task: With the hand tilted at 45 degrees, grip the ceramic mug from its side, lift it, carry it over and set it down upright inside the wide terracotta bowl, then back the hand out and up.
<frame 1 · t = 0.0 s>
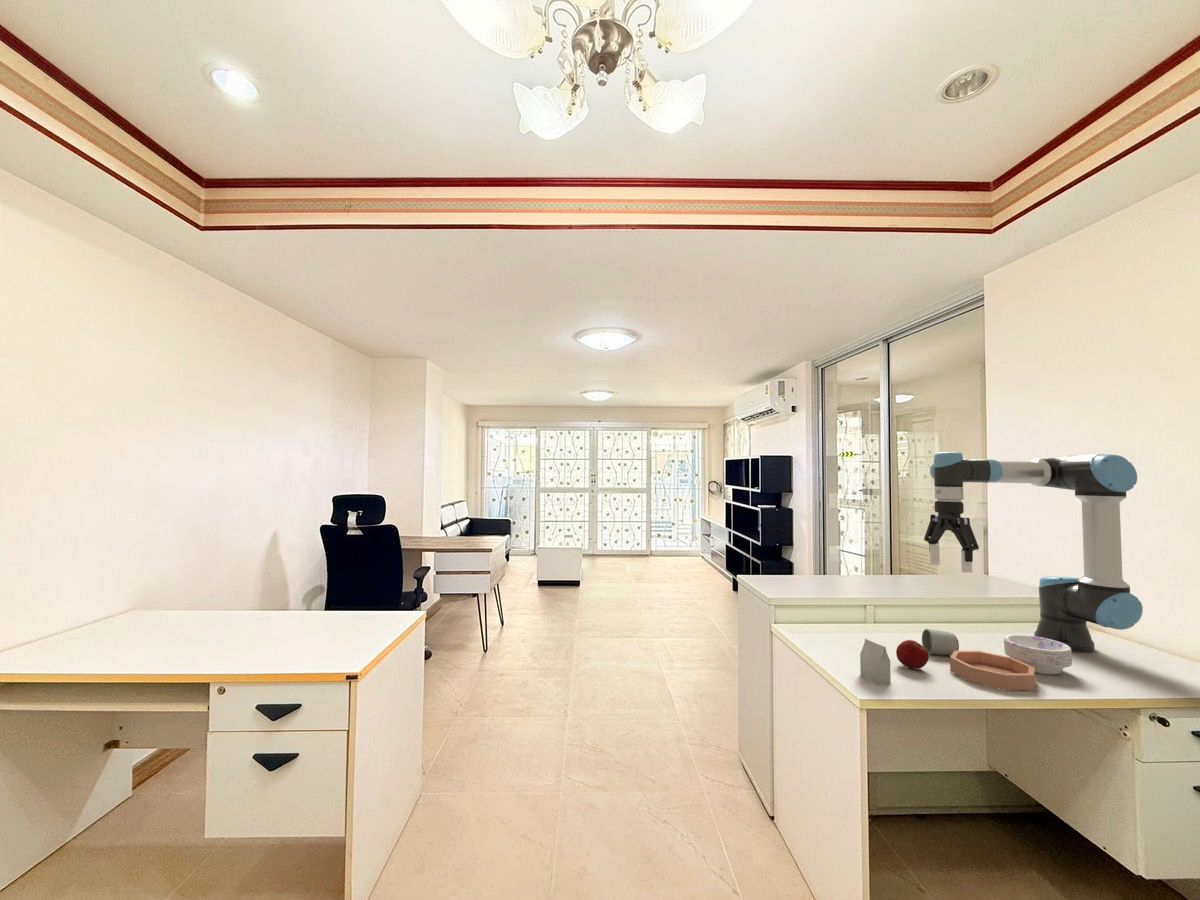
hand: (950, 568, 156), 28 cm above the table, tool pointing down, fingers open, 13 cm apart
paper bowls: (1037, 669, 147), on the table
tea bag: (875, 679, 138), on the table
apple: (912, 668, 146), on the table
terracotta bowl: (991, 676, 141), on the table
ceramic mug: (937, 653, 160), on the table
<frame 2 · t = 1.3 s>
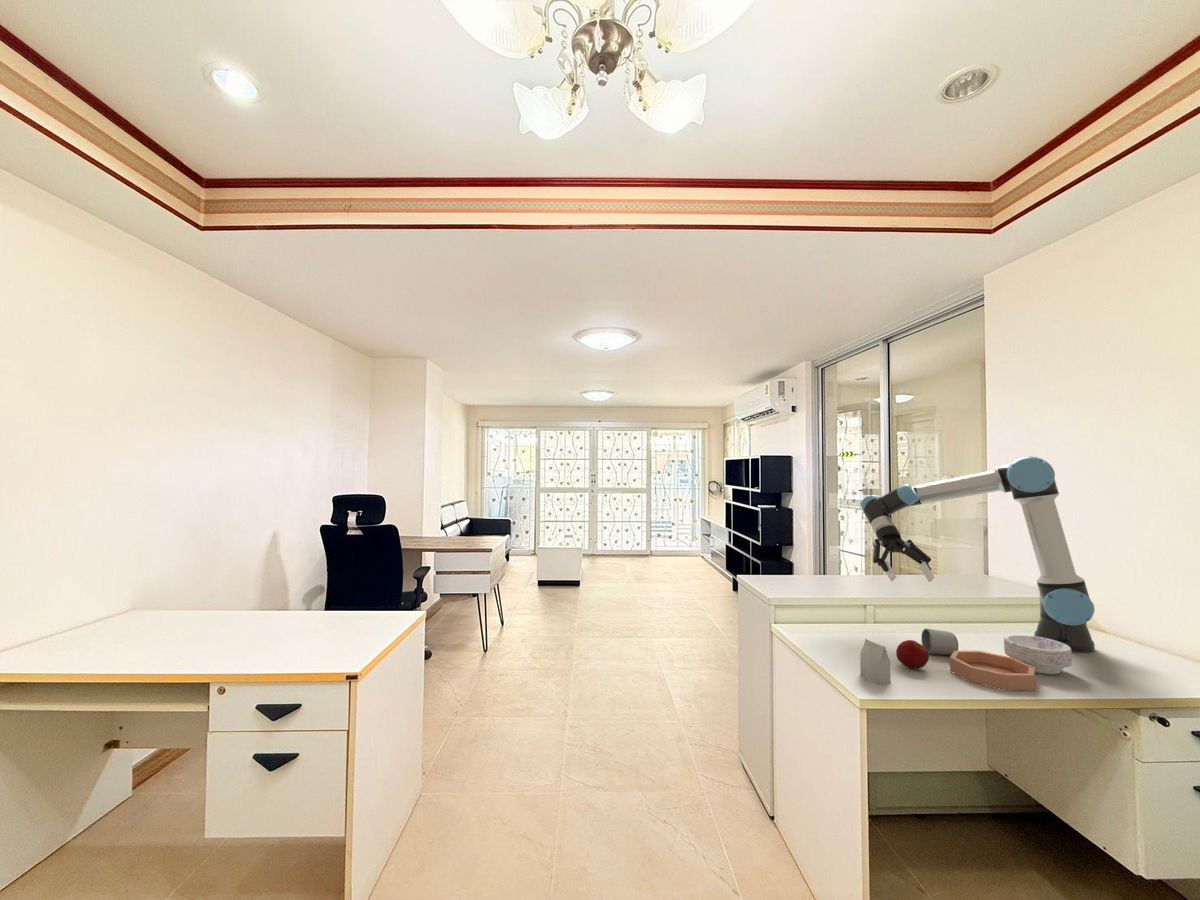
hand: (912, 579, 172), 21 cm above the table, tool tilted 45°, fingers open, 13 cm apart
nothing on the table moved.
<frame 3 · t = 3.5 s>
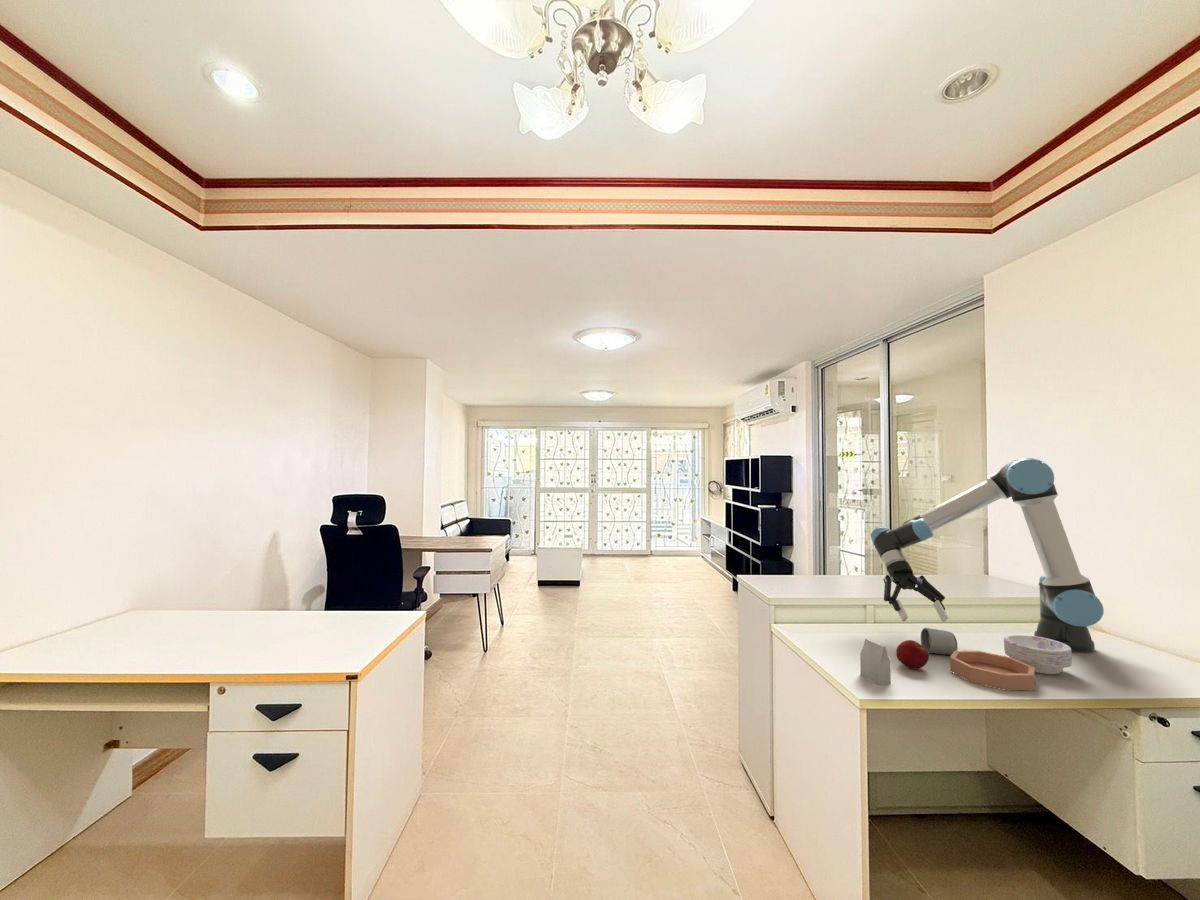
hand: (925, 619, 164), 9 cm above the table, tool tilted 45°, fingers open, 13 cm apart
nothing on the table moved.
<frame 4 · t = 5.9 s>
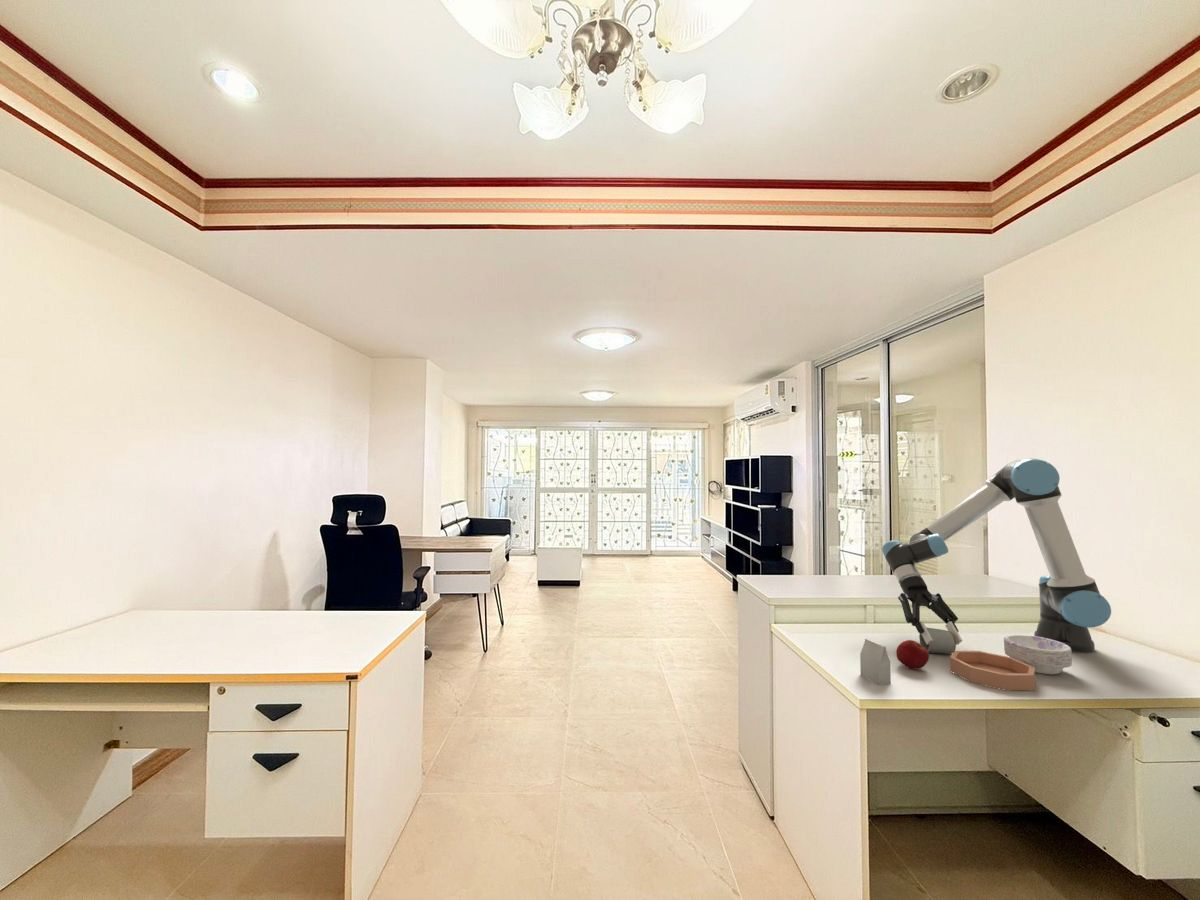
hand: (944, 642, 157), 4 cm above the table, tool tilted 45°, fingers closed on ceramic mug, 9 cm apart
ceramic mug: (934, 651, 161), on the table, touching gripper
everything else where it was.
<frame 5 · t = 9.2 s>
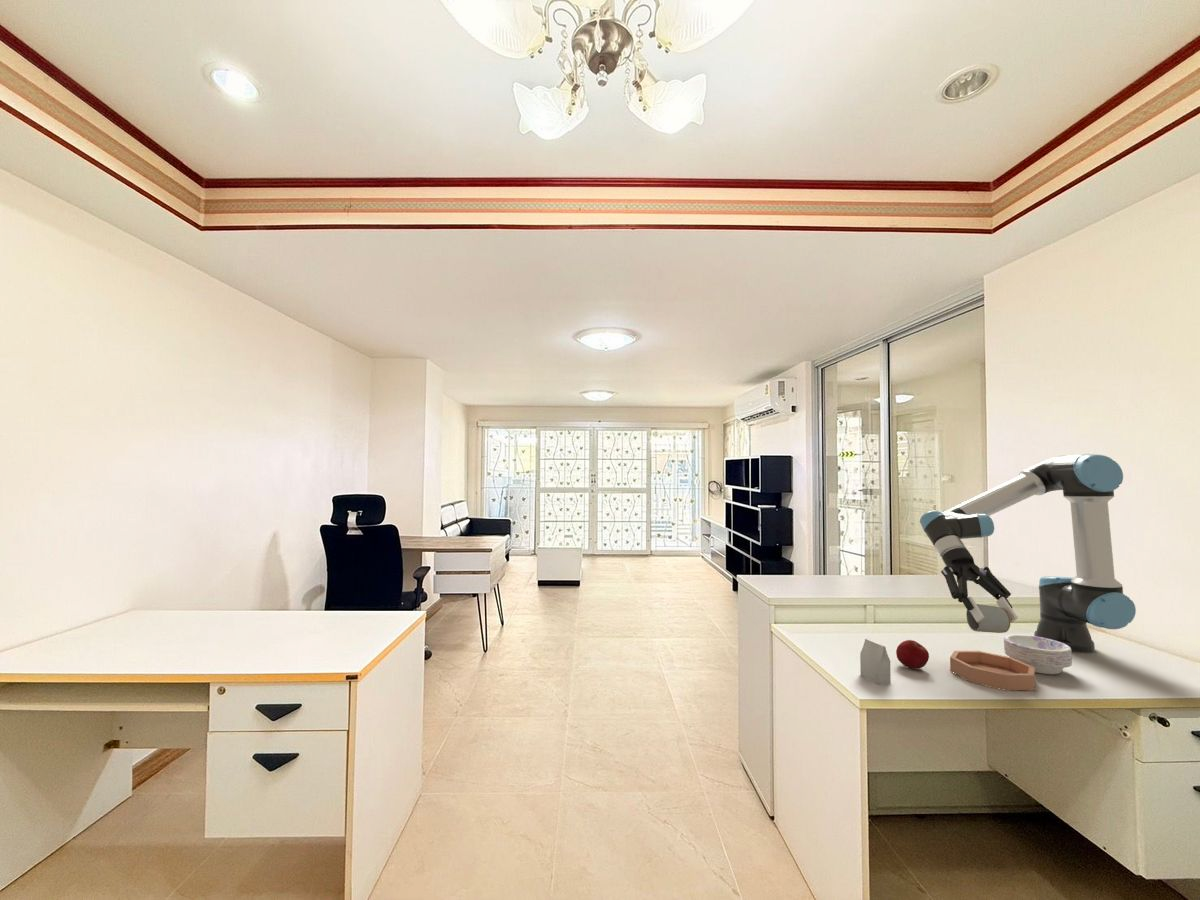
hand: (997, 620, 139), 17 cm above the table, tool tilted 45°, fingers closed on ceramic mug, 9 cm apart
ceramic mug: (984, 631, 143), point 12 cm above the table, touching gripper
everything else where it was.
when the fingers open (6 cm above the table, at t = 12.7 s): ceramic mug stays where it is, resting on terracotta bowl.
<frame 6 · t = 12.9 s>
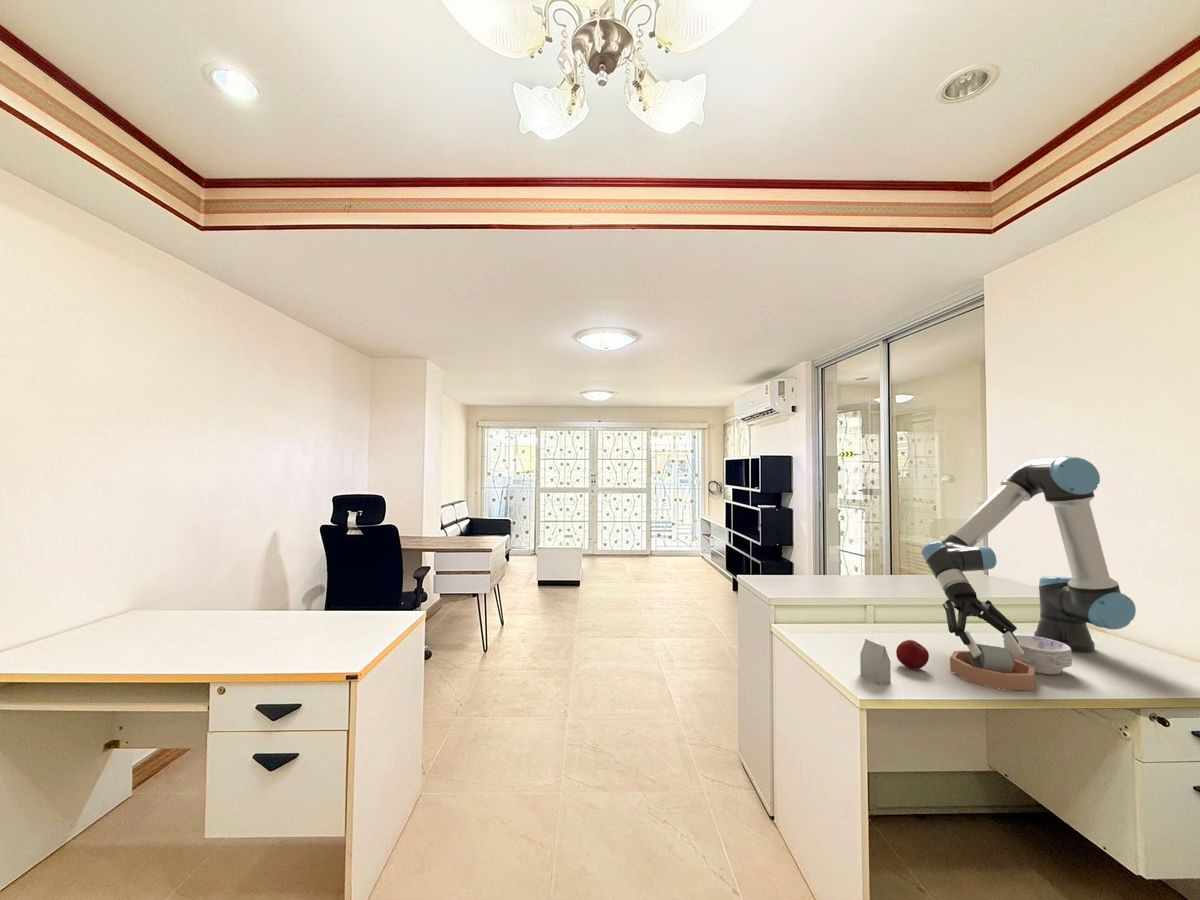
hand: (999, 655, 138), 7 cm above the table, tool tilted 45°, fingers open, 11 cm apart
ceramic mug: (988, 671, 142), point 1 cm above the table, touching terracotta bowl
everything else where it was.
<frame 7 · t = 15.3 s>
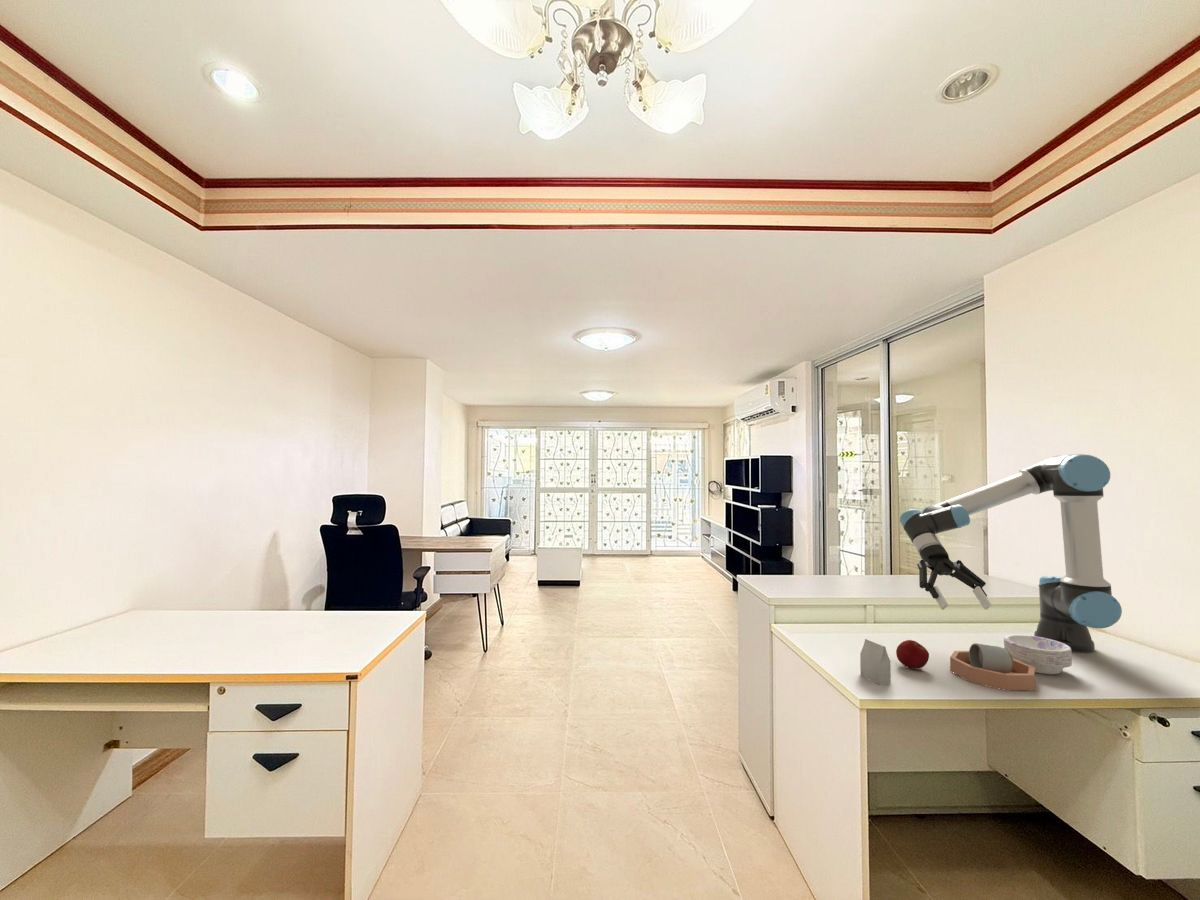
hand: (966, 607, 150), 17 cm above the table, tool tilted 45°, fingers open, 13 cm apart
nothing on the table moved.
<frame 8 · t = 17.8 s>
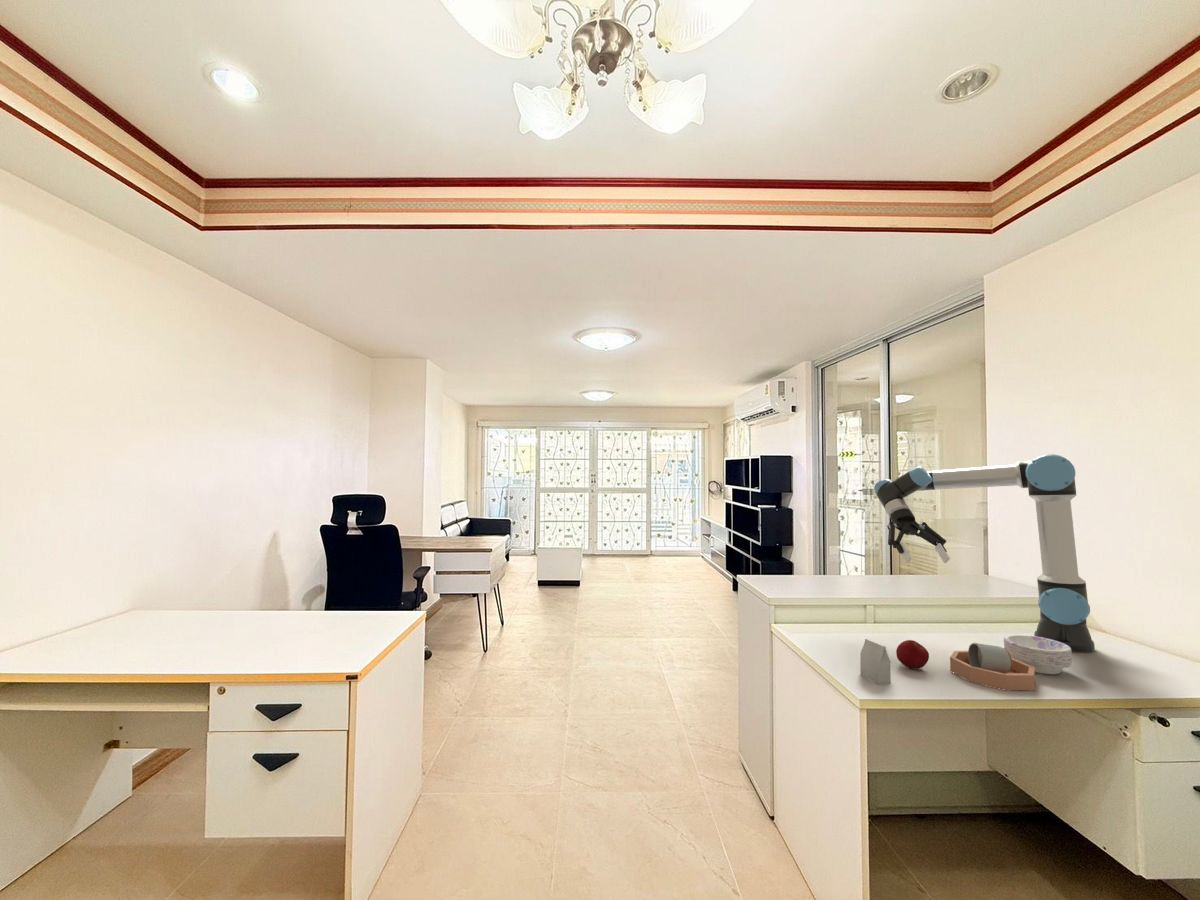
hand: (928, 560, 172), 28 cm above the table, tool tilted 45°, fingers open, 13 cm apart
nothing on the table moved.
at the end: ceramic mug inside the target area on the terracotta bowl (2.2 cm from its centre), point 0.8 cm above the terracotta bowl's base; ceramic mug tilted 0°; the gripper is holding nothing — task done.
